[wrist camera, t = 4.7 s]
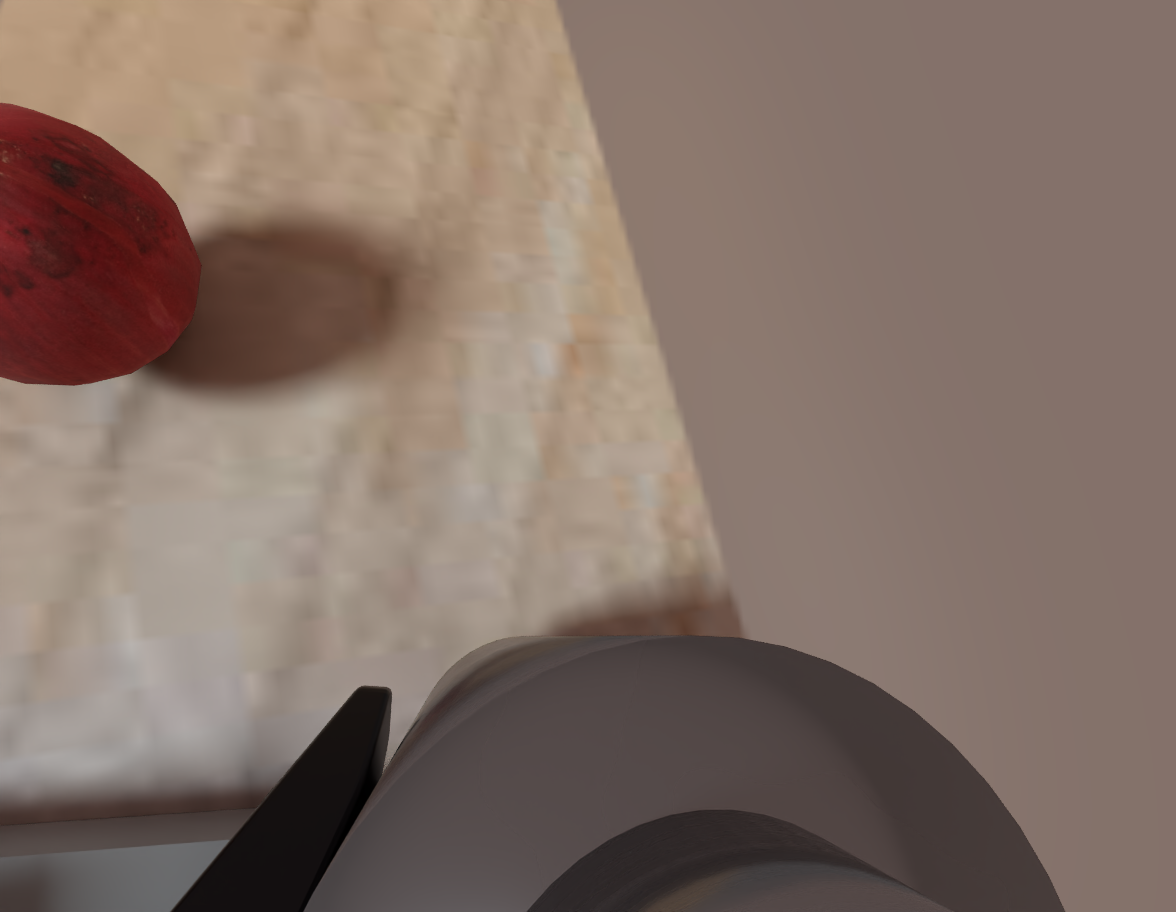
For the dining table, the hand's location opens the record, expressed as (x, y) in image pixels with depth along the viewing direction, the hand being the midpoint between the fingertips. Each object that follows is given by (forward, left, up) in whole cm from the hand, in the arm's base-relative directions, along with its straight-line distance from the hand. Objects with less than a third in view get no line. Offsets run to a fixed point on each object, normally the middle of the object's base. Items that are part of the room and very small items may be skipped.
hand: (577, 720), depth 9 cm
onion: (+10, +11, -9) cm, 17 cm away
